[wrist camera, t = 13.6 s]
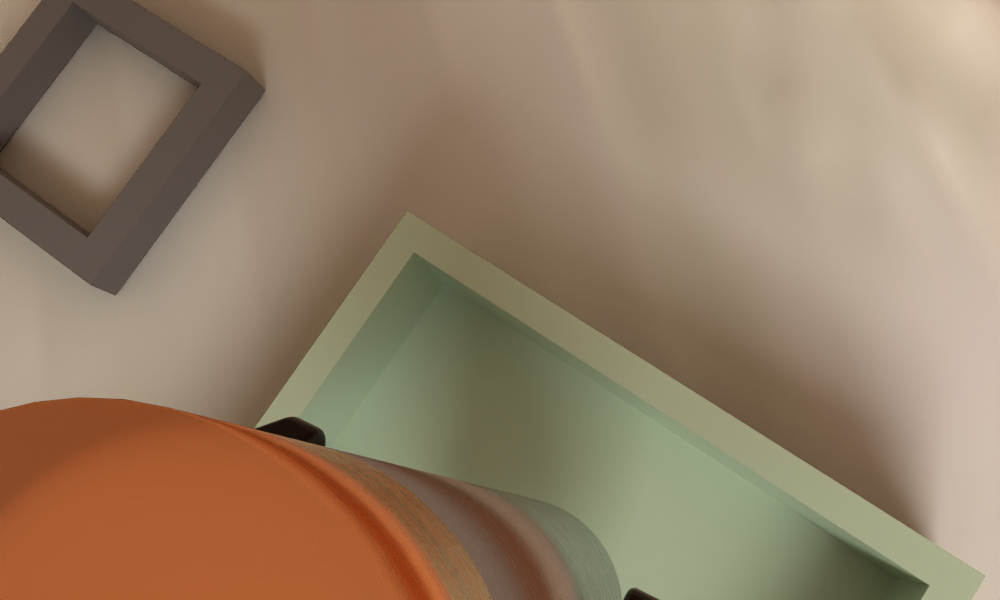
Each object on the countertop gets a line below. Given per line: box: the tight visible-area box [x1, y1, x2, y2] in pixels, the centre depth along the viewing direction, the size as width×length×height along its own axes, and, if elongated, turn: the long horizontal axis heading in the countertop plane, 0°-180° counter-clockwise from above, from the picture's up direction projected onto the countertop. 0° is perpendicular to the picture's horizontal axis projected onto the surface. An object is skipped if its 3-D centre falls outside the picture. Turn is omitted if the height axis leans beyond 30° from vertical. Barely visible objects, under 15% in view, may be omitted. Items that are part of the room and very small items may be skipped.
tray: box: [254, 211, 985, 600], centre depth 17 cm, size 9×12×3 cm
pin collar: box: [0, 0, 265, 295], centre depth 23 cm, size 6×6×1 cm
